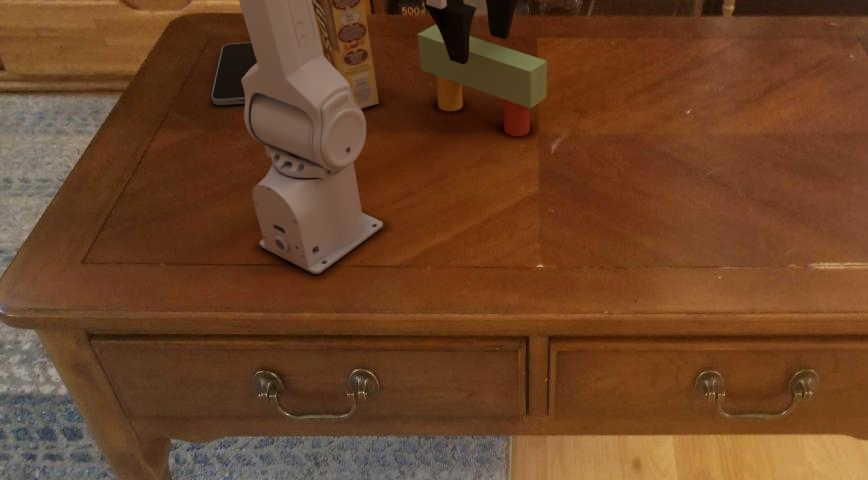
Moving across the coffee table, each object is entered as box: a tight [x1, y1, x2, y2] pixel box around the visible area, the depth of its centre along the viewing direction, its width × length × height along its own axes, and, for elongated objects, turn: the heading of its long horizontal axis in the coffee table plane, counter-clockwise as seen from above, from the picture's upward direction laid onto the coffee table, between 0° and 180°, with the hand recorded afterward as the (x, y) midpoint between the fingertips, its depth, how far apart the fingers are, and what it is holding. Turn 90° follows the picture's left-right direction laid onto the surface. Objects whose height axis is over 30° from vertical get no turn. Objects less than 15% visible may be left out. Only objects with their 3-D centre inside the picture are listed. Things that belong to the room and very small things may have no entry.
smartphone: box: [211, 41, 257, 106], centre depth 108 cm, size 7×1×15 cm
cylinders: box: [435, 75, 531, 137], centre depth 100 cm, size 3×13×4 cm, turn 56°
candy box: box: [311, 0, 380, 110], centre depth 100 cm, size 9×4×15 cm, turn 33°
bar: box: [417, 24, 548, 109], centre depth 97 cm, size 16×3×4 cm, turn 56°
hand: (479, 48), depth 96 cm, fingers open, 7 cm apart
